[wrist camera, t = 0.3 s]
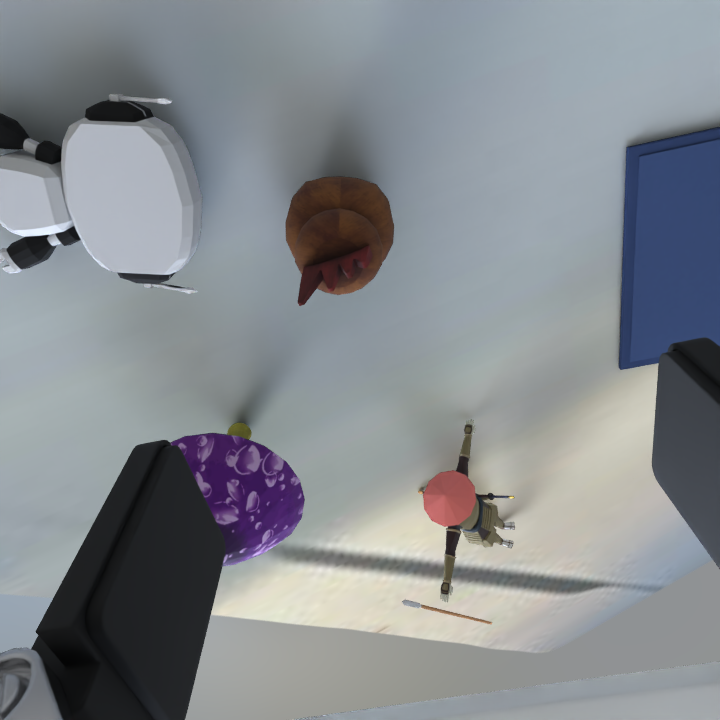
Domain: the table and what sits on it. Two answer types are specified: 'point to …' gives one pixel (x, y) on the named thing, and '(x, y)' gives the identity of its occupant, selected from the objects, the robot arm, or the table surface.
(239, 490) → the decorative mushroom
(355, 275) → the wooden figurine
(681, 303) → the blue square tray
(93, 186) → the robot toy
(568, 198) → the table surface
